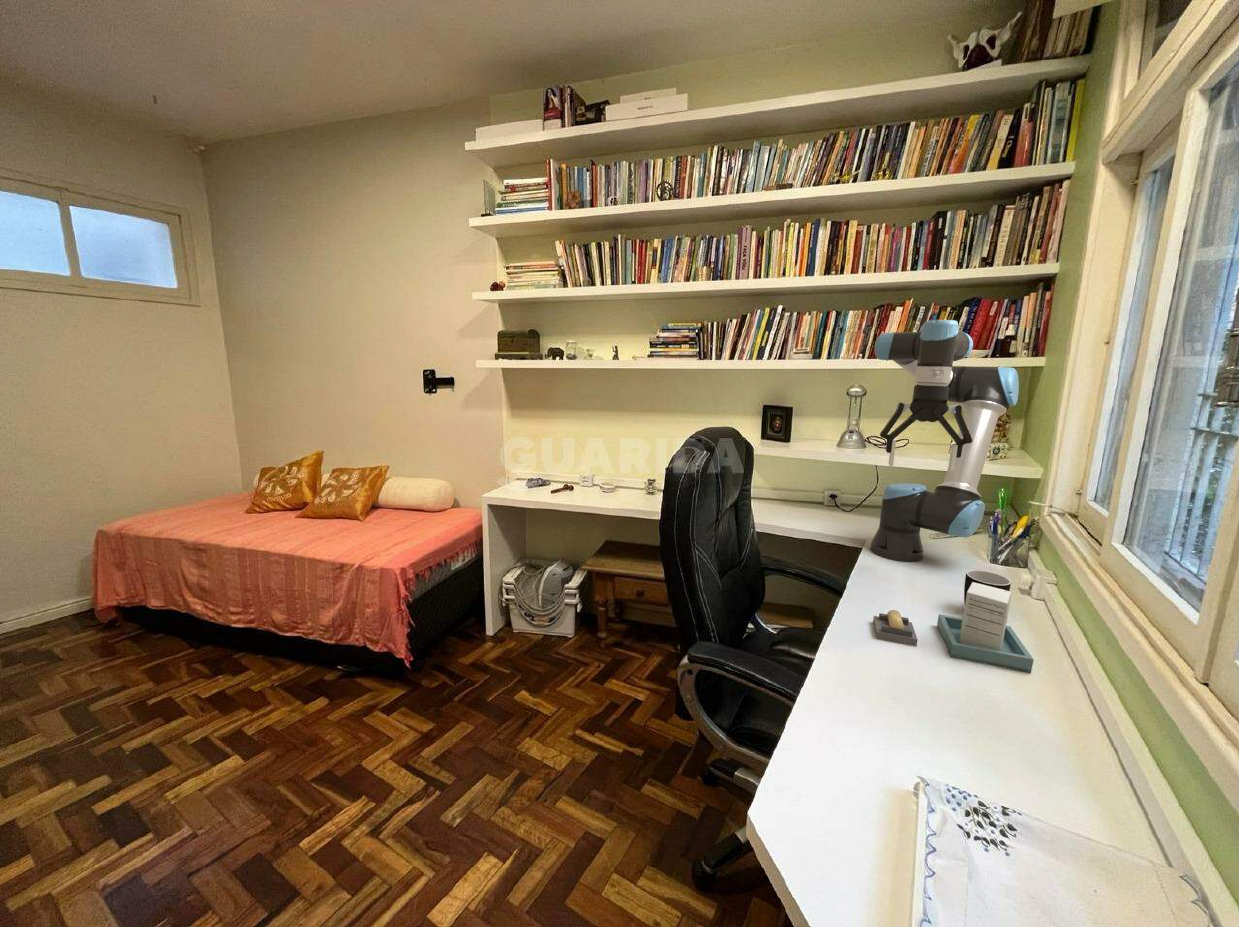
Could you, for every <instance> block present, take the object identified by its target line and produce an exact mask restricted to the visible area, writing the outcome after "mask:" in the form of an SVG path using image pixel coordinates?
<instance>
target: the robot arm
mask: <svg viewBox="0 0 1239 927" xmlns="http://www.w3.org/2000/svg"><path fill="white" fill-rule="evenodd" d="M958 322H959V321H957V320H954V319H934V320H927V321H925V322H924V323H923V324H922V327H921V331H907V332H906V331H905V332H903V331H902V332H901V331H899V332H898V331H896V332H895V331H893V332H892V331H891V332H885V333H881V334H879V335H878V337H877V339H876V340H875V344H874V354H875V357H876V358H877V360H881V361H886V362H887V361H893V362H894V363H895V364H897V365H898V366H899V367H900V368H902V369H903V370H904V371H906V372H907V373H908V374H909V375H911V376H912V377H913V378H914V382H915V385H914V386H913V391H912V392H913V394H912V400H911V403H910V404H909V403H903V402H901V401H900V402H898V403H897V406H896V410H895V412H894V413H893V414H892V416H891V418H890V419H889V420H888V422H886V424H885V425H884V428H883V429H881V432H880V433H879V436H880V437H881V439H882V438H883V439H885V440H886V443H885V444H886V445H885V452H886V453H887V454H888V453H889V458H888V465H889V467H894V461H895V454H896V444H897V441H896V440H895V439H896V438H897V437H898V436H899V435H900V434H902V433H903V432H904V431H905V430H906V429H907V428H908V427H910V425H912V424H913V423H915V422H917V421H918V422H921V423H922V422H930V423H935V422H939V423H940V425H941V426H942V427H943V428H944V430H945V431H946V432H947V434H948V435H949V436H950V438H951V439H952V440H953V441H954V442H955V443H951V447H950V455H949V460H948V467H947V471H946V474H945V477H944V480H943V482H942V483H940V484H938V485H936V486H935V489H934V492H933V491H928V490H927V489H928V488H927V486H926V485H924V484H921V483H912V482H910V483H909V482H903V483H902V482H901V483H900V482H899V483H892V484H888V485H886V486H885V488H884V489H883V495H882V497H881V500H882V501H881V509H880V515H879V516H880V517H879V525H878V529H877V530H876V532H875V534H874V537H873V539H872V540H871V542H870V551H871V552H872V553H874V554H875V555H877V556H880V557H882V558H885V559H889V560H893V561H900V562H918V561H921V560H922V559H923V557H924V547H923V543H922V539H921V535H920V534H921V529H924V530H929V531H931V532H937V533H942V534H945V535H949V536H950V537H959V538H964V539H965V538H968V537H971V536H973V534H975V533H976V531H977V530H978V528H979V526H980V525H981V522H982V521H983V518H984V516H985V515H984V513H985V509H986V504H985V503H984V501H982V500H981V498H982V495H981V494H980V493H979V491H978V486H979V483H980V479H981V476H982V473H983V469H984V466H985V464H986V459H987V456H988V453H989V448H990V447H991V443H992V441H993V436H994V433H995V430H996V426H997V423H998V419H999V417H1001V416H1003V415H1005V414H1006V413H1007V410H1008V408H1009V407H1010V408H1012V407H1015V406H1017V403H1018V401H1019V400H1018V398H1019V390H1020V385H1019V384H1020V383H1019V382H1020V381H1019V374H1018V372H1017V370H1016V369H1015V368H1013V367H1010V366H1009V367H1008V366H1006V367H1005V366H1000V365H999V366H998V365H997V366H968V365H967V366H966V365H965V366H964V365H953V363H954V362H957V361H961V360H963V359H965V358H967V357H968V356H969V355H970V354H971V352H972V350H973V347H974V342H973V338H972V337H971V335H969V334H968V333H966V332H964V331H962V330H959V323H958ZM948 402H951V403H955V404H954V405H948ZM956 403H957V404H956ZM908 409H909V411H910V412H911V413H912V414H910V416H908V417H907V418H906V420H903V422H902V423H901V424H899V426H897V427H896V428H895V429H894V430H892V428H893V427H894V426H895V424H896V423H897V421H899V419H900V417H901V416H902V414H903V413H904V412H906V411H907V410H908ZM962 410H963V411H964V414H962V412H963V411H962ZM948 411H949V412H950V413H951V414H952V415H953V416H954V419H955V422H956V424H957V426H958V429H959V431H958V433H957V432H956V431H955V429H954V428H953V427H952V425H951V424H950V423H949V422H948V420H947V419H946V418H945V416H944V415H945V414H946V413H947V412H948ZM891 430H892V432H891Z"/></svg>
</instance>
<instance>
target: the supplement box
mask: <svg viewBox="0 0 1239 927" xmlns="http://www.w3.org/2000/svg"><path fill="white" fill-rule="evenodd" d="M1012 593H1013V592H1011V591H1006V590H1003V589H999V588H994V587H990V586H986V585H982V584H979V583H974V582H972V584H971V586H970V587H969V589H968V591H967V595H966V601H965V605H964V608H963V613H962V618H963V619H962V625H961V632H960V639H959V643H960V644H965V645H970V646H976V647H981V648H987V649H992V650H997V651H1001V649H1002V645H1003V640H1004V634H1005V628H1006V626H1007V622H1008V616H1009V609H1010V604H1011V600H1012V599H1011V598H1012Z"/></svg>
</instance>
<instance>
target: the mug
mask: <svg viewBox="0 0 1239 927" xmlns="http://www.w3.org/2000/svg"><path fill="white" fill-rule="evenodd" d="M964 578H965V579H964V586H963V591H964V592H963V603H964V606H965V601H966V595H967V591H968V589H969V587H970V586H971V584H972V582H974V583H979V584H982V585H986V586H990V587H994V588H999V589H1003V590H1006V591H1010V589H1011V587H1012V585H1011V584H1012V581H1011V580H1010V579H1009V578H1007V577H1006V576H1004V575H1002V574H999V573H996V572H993V571H988V570H982V569H970V570H968V571H966V572H965V577H964ZM1010 592H1011V591H1010Z"/></svg>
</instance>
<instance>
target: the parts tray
mask: <svg viewBox="0 0 1239 927" xmlns="http://www.w3.org/2000/svg"><path fill="white" fill-rule="evenodd" d="M962 619H963V617H956V616H951V615H947V614H946V615H945V614H940V613H939V614H938V618H937V621H936V622H937V624H936V627H937V629H938V632H939V634H940V636H941V638H942V641H943V643H944V646H945V649H946V650H947V653H948V655H949V657H950V658H954V659H958V660H964V661H969V662H974V663H978V664H984V665H988V666H995V667H999V668H1002V669H1009V670H1014V671H1018V672H1019V671H1020V672H1025V673H1029V674H1031V673H1032V670H1033V664H1034V660H1035V659H1034V658H1033V656H1032V655H1031V654H1030V652H1029V651H1028V649H1027V648H1026V647H1025V645H1024V644H1023V642H1022V641H1021V639H1020V638H1019V637H1018V635H1017V633H1016V632H1015V631H1014V629H1013V628H1012V626H1010V625H1006V628H1005V634H1004V640H1003V645H1002V649H1001V651H997V650H992V649H987V648H981V647H976V646H970V645H965V644H960V643H959V639H960V632H961V625H962Z"/></svg>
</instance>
